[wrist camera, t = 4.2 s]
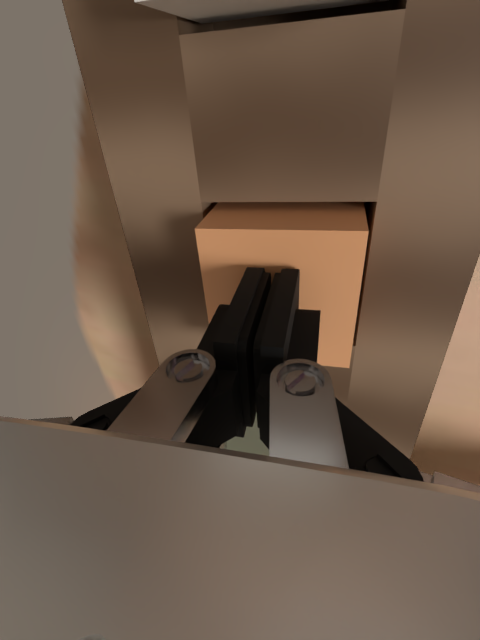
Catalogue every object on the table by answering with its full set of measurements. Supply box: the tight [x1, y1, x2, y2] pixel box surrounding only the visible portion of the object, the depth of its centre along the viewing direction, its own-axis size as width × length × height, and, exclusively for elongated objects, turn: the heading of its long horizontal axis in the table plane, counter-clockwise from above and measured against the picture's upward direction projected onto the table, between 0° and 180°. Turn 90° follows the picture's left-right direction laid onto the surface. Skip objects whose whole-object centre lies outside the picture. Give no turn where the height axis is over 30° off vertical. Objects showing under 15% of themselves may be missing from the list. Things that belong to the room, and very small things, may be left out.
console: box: [62, 0, 480, 459], centre depth 14 cm, size 32×12×4 cm, turn 4°
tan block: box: [195, 202, 369, 368], centre depth 13 cm, size 5×5×4 cm
